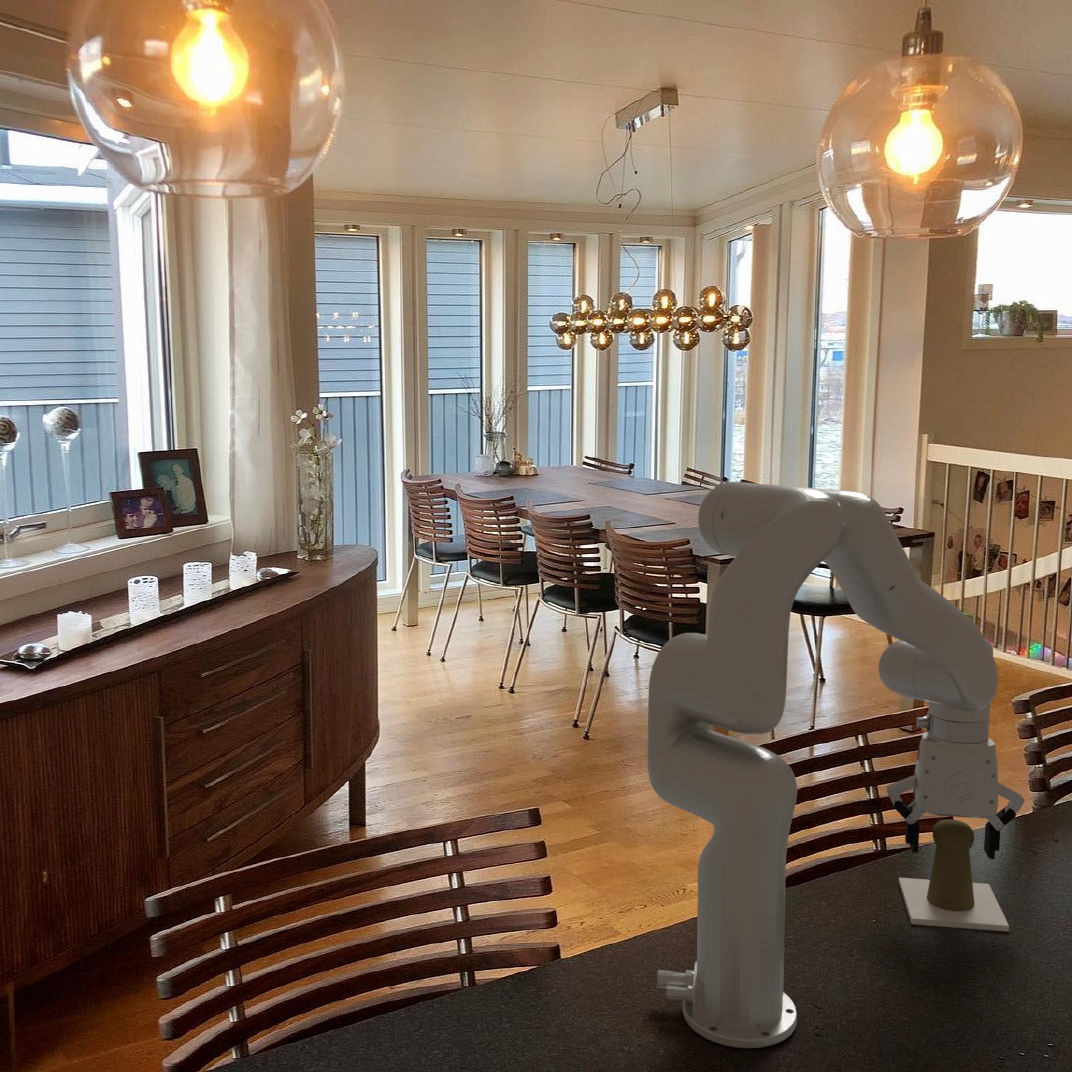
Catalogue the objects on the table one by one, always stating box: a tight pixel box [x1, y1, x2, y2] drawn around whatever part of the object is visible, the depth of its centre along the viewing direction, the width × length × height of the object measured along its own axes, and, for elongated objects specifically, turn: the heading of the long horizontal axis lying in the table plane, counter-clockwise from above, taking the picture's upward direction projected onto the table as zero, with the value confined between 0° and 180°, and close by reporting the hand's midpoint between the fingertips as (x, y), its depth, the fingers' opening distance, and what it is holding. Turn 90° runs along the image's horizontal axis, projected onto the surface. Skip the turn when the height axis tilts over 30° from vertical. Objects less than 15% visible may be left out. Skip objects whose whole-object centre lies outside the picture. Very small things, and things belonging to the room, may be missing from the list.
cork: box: [927, 819, 975, 911], centre depth 145 cm, size 6×6×11 cm
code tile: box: [898, 877, 1010, 933], centre depth 146 cm, size 12×12×1 cm
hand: (951, 852), depth 145 cm, fingers open, 9 cm apart
